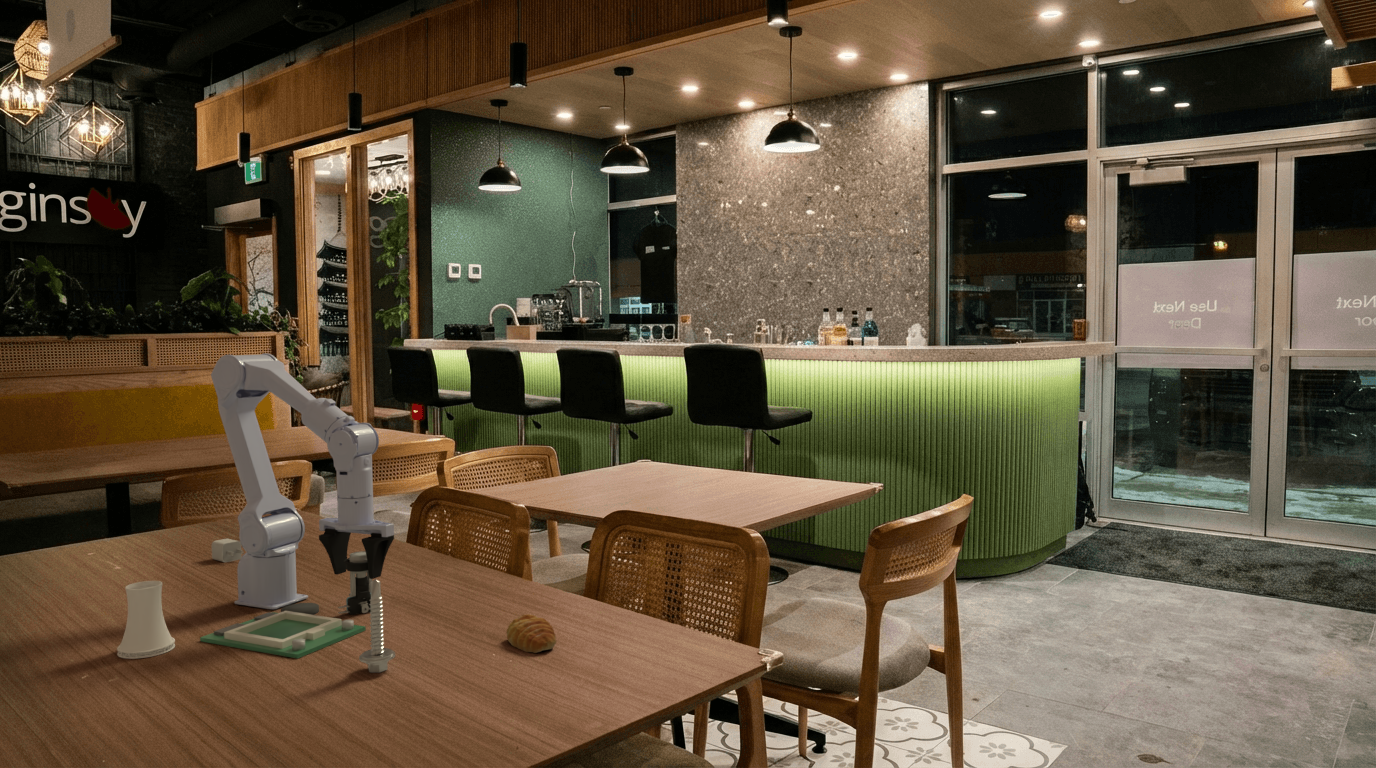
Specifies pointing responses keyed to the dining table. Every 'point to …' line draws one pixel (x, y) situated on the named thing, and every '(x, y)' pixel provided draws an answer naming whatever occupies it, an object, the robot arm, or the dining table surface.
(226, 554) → the usb wall charger
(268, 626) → the circuit board
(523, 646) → the pastry
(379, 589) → the screw
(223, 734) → the dining table surface
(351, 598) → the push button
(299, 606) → the dark gray round disc
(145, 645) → the cooling tower
